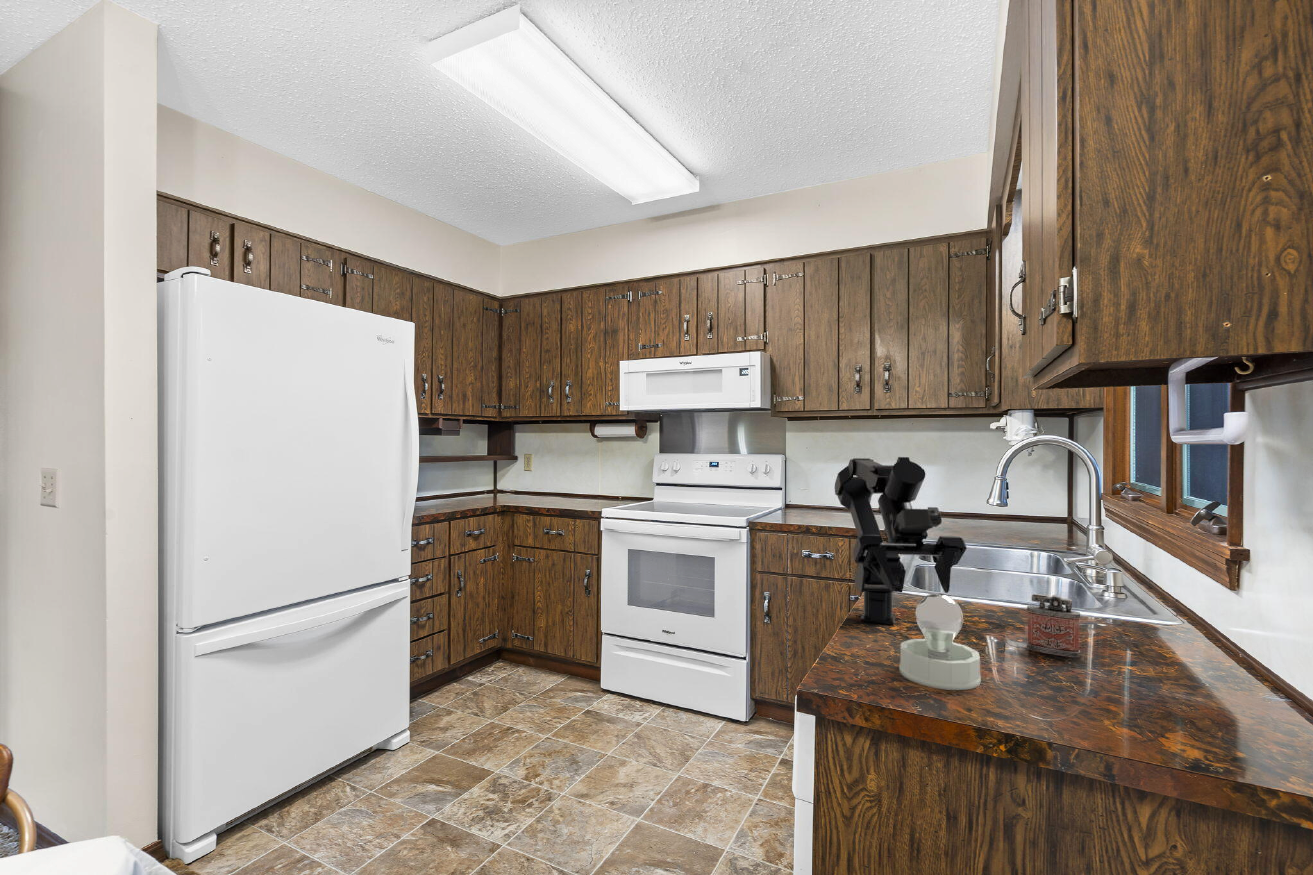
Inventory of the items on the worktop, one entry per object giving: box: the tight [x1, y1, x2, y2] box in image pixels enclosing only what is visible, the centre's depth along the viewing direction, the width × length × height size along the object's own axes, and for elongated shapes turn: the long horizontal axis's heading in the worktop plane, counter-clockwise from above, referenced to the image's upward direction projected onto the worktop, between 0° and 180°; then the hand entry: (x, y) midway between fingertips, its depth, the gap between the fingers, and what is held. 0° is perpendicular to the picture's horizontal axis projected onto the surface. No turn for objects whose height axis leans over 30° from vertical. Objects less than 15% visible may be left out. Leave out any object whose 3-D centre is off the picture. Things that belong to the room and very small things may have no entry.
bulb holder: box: [898, 638, 982, 691], centre depth 100 cm, size 12×12×4 cm
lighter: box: [1026, 593, 1081, 658], centre depth 112 cm, size 8×3×10 cm, turn 56°
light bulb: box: [915, 592, 964, 661], centre depth 100 cm, size 7×7×12 cm
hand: (920, 591), depth 108 cm, fingers open, 9 cm apart
